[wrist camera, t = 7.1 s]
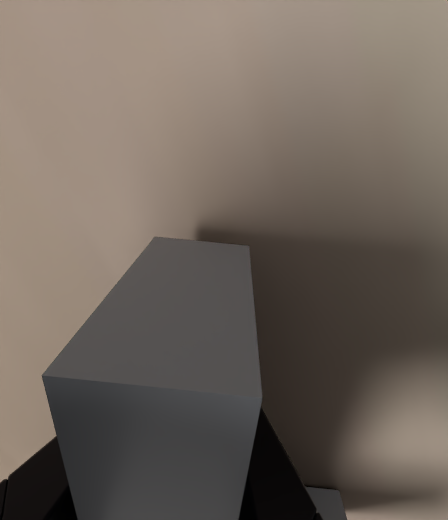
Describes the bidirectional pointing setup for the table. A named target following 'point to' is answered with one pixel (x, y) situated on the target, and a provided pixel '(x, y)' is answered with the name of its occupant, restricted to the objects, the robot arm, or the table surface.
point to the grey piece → (165, 390)
